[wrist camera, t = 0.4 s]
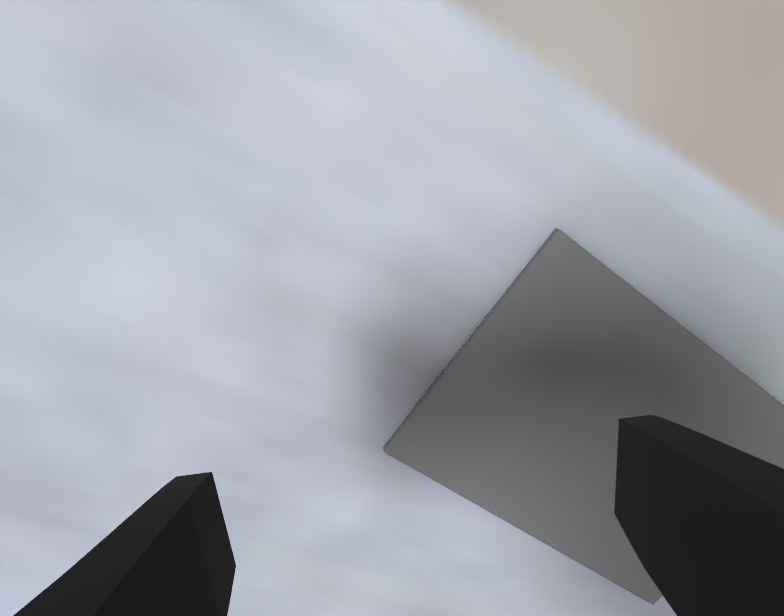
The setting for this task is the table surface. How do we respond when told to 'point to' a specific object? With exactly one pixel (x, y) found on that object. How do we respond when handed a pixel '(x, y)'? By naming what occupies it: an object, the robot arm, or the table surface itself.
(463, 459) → the mat
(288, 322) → the table surface
